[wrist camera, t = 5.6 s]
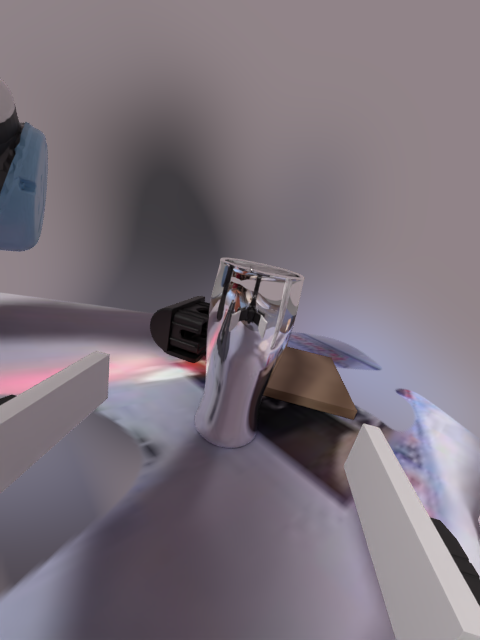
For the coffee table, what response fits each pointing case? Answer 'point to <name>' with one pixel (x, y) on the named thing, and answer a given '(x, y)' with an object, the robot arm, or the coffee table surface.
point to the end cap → (182, 329)
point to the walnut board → (310, 383)
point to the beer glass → (244, 346)
